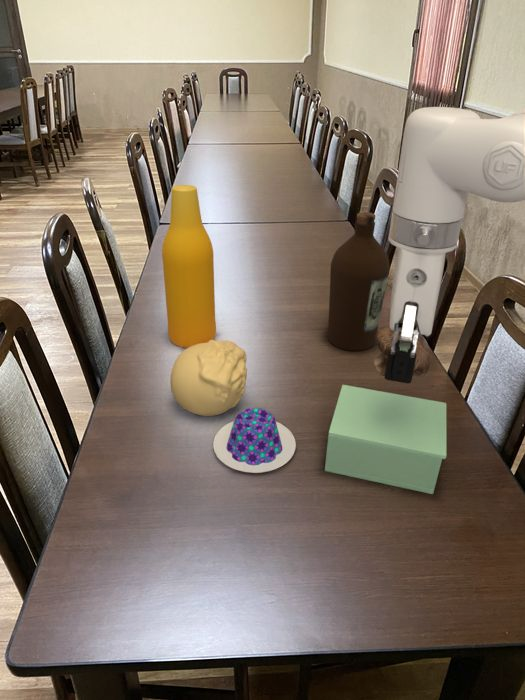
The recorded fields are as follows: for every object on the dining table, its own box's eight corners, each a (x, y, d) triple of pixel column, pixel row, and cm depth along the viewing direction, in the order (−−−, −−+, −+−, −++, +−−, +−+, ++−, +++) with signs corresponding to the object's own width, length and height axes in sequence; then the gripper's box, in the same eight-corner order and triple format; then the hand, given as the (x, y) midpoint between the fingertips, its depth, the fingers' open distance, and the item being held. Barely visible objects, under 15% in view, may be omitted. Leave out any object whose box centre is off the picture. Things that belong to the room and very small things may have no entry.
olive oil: (314, 342, 105) (325, 216, 92) (338, 321, 112) (351, 202, 99) (365, 359, 100) (383, 228, 87) (386, 335, 107) (406, 212, 94)
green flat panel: (445, 406, 77) (446, 402, 77) (445, 459, 68) (446, 455, 67) (342, 387, 81) (342, 384, 80) (328, 435, 71) (328, 432, 71)
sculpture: (234, 431, 81) (234, 372, 76) (161, 417, 84) (155, 359, 78) (255, 389, 91) (256, 334, 85) (188, 378, 93) (185, 323, 88)
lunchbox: (434, 439, 81) (442, 406, 77) (433, 494, 71) (442, 459, 68) (338, 420, 84) (342, 388, 81) (324, 471, 74) (328, 436, 71)
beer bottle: (220, 327, 109) (216, 182, 94) (210, 351, 101) (204, 196, 86) (175, 324, 110) (165, 179, 95) (162, 347, 102) (149, 193, 87)
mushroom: (356, 360, 65) (389, 319, 64) (359, 351, 73) (388, 314, 72) (409, 401, 65) (444, 361, 63) (406, 387, 73) (436, 351, 71)
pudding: (288, 483, 72) (290, 453, 70) (203, 469, 74) (201, 439, 72) (301, 427, 82) (303, 399, 80) (225, 416, 84) (224, 389, 82)
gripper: (461, 261, 52) (428, 407, 61) (457, 211, 66) (431, 335, 75) (382, 252, 53) (362, 395, 63) (395, 205, 68) (377, 327, 77)
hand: (400, 361), depth 69 cm, fingers closed on mushroom, 7 cm apart
